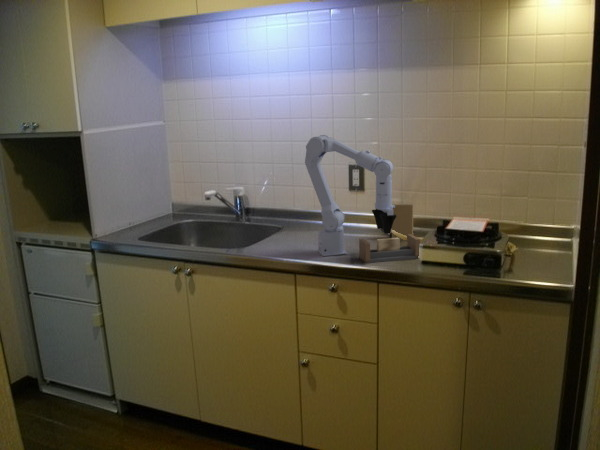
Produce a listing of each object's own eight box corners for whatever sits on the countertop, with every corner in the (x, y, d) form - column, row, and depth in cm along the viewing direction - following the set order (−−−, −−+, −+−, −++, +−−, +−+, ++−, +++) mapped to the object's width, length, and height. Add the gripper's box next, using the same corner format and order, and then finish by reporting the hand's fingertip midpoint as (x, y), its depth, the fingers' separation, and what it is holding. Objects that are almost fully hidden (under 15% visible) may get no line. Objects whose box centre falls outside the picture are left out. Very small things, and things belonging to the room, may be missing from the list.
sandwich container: (414, 232, 243) (414, 197, 240) (412, 241, 228) (413, 204, 225) (393, 231, 245) (393, 197, 242) (391, 240, 230) (391, 204, 227)
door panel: (378, 256, 204) (378, 240, 203) (376, 255, 206) (376, 239, 205) (399, 254, 205) (399, 238, 204) (397, 253, 207) (397, 237, 206)
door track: (366, 263, 200) (365, 243, 199) (359, 257, 208) (359, 238, 206) (419, 258, 204) (419, 239, 202) (411, 252, 212) (411, 234, 210)
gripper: (401, 196, 197) (401, 234, 200) (387, 190, 211) (387, 225, 214) (382, 197, 196) (382, 236, 199) (369, 191, 210) (369, 227, 213)
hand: (383, 231), depth 207 cm, fingers open, 7 cm apart
